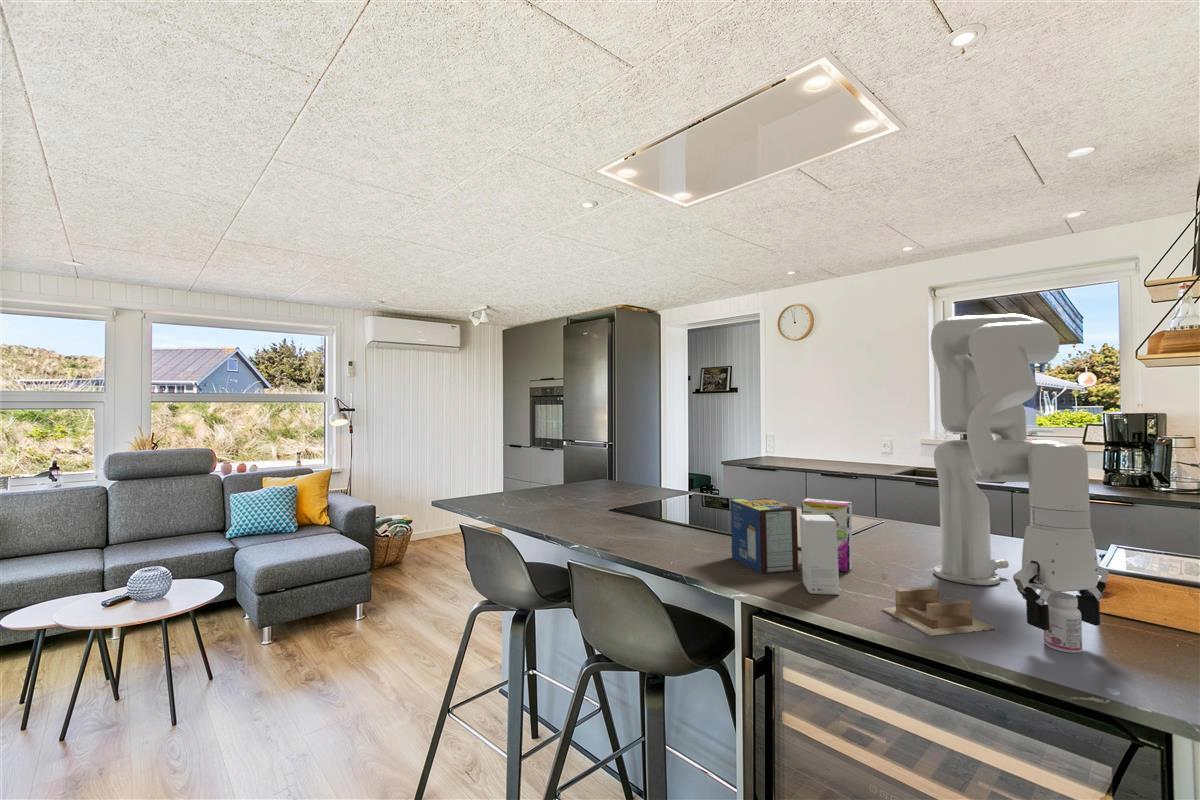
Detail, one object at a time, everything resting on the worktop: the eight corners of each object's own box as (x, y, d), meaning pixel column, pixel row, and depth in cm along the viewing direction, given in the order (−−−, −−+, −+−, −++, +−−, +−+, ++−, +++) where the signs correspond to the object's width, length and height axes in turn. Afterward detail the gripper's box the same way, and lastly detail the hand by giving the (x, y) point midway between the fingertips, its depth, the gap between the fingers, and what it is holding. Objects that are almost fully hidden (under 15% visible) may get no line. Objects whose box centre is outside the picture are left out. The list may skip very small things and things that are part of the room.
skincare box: (840, 596, 112) (838, 521, 112) (806, 594, 113) (805, 520, 114) (831, 583, 120) (829, 513, 121) (800, 581, 122) (798, 513, 122)
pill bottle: (1035, 641, 89) (1034, 590, 89) (1062, 640, 90) (1060, 589, 90) (1063, 654, 84) (1061, 600, 85) (1090, 653, 85) (1089, 599, 85)
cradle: (940, 605, 106) (939, 583, 106) (994, 629, 94) (994, 604, 94) (881, 610, 104) (881, 587, 104) (930, 635, 92) (929, 610, 92)
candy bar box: (801, 566, 133) (800, 500, 134) (805, 561, 138) (804, 497, 138) (850, 573, 127) (849, 504, 128) (853, 567, 132) (852, 501, 132)
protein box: (766, 554, 145) (765, 497, 145) (799, 571, 130) (797, 507, 130) (730, 557, 142) (729, 499, 143) (759, 574, 127) (758, 509, 128)
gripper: (1079, 512, 93) (1083, 612, 92) (993, 516, 90) (996, 620, 89) (1128, 520, 85) (1133, 629, 85) (1037, 525, 82) (1041, 638, 82)
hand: (1063, 624), depth 87 cm, fingers open, 9 cm apart
